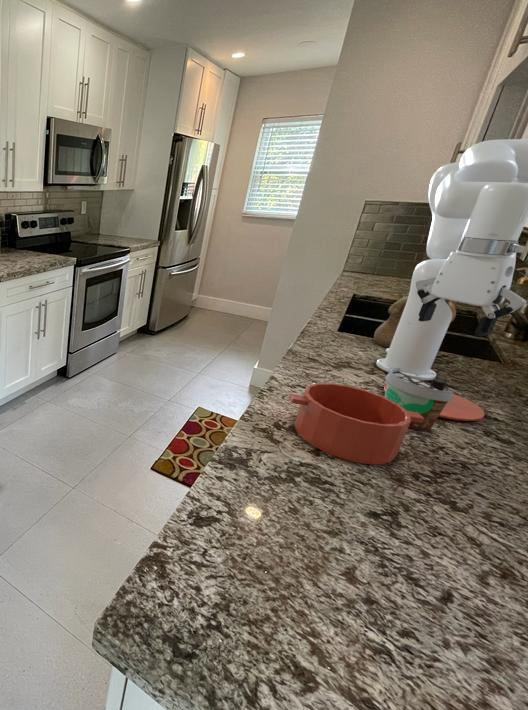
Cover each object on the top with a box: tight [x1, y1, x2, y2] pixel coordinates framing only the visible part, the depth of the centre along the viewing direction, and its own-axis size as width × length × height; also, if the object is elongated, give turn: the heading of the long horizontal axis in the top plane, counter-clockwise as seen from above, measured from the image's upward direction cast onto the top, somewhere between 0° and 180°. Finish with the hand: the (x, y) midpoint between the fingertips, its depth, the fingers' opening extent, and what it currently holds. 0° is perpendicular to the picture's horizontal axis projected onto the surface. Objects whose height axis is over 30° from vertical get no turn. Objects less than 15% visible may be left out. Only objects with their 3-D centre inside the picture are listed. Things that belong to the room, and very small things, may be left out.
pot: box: [288, 382, 424, 465], centre depth 83 cm, size 17×22×8 cm
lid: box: [383, 377, 485, 422], centre depth 98 cm, size 18×18×6 cm
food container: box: [384, 368, 454, 431], centre depth 90 cm, size 12×6×10 cm, turn 5°
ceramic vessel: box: [373, 292, 457, 349], centre depth 126 cm, size 16×22×30 cm
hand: (450, 327), depth 88 cm, fingers open, 9 cm apart
